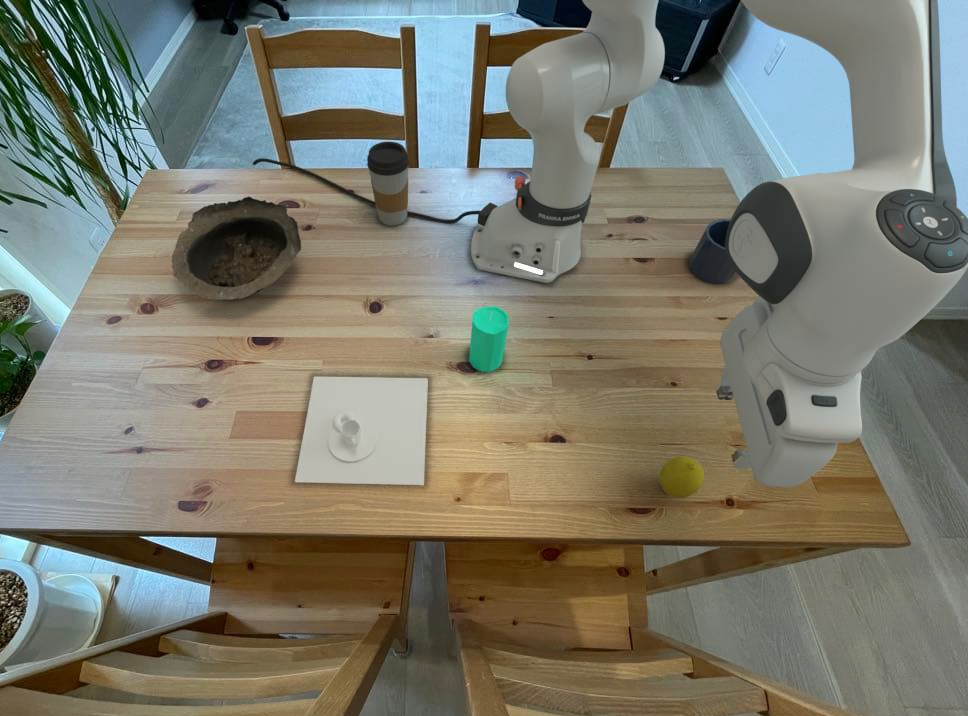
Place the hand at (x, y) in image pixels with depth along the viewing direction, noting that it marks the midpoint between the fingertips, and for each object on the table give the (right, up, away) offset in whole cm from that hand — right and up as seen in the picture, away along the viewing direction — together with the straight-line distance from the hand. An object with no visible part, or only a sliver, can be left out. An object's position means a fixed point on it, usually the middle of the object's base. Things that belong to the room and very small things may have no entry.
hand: (730, 427), depth 62 cm
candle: (-26, +11, +30) cm, 41 cm away
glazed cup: (+20, +30, +41) cm, 55 cm away
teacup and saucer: (-47, -1, +23) cm, 52 cm away
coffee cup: (-44, +44, +51) cm, 80 cm away
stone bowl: (-73, +29, +42) cm, 89 cm away
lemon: (0, -10, +16) cm, 19 cm away
